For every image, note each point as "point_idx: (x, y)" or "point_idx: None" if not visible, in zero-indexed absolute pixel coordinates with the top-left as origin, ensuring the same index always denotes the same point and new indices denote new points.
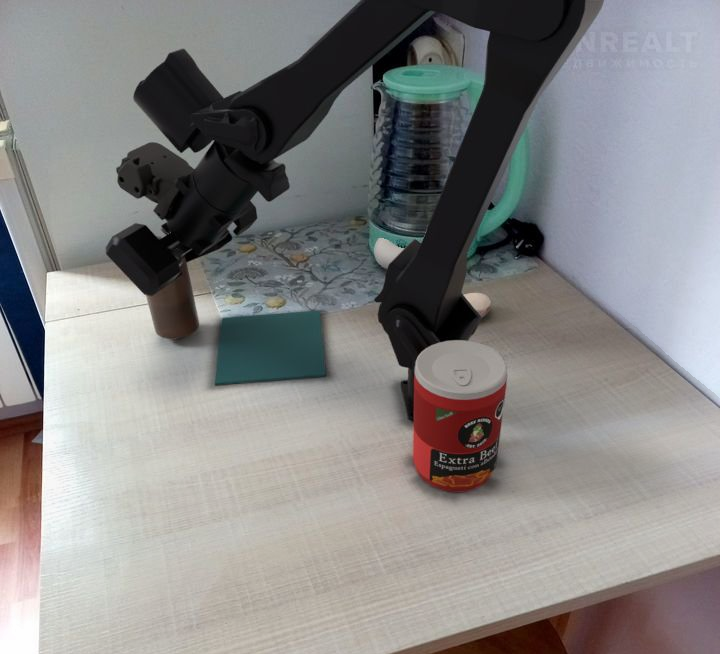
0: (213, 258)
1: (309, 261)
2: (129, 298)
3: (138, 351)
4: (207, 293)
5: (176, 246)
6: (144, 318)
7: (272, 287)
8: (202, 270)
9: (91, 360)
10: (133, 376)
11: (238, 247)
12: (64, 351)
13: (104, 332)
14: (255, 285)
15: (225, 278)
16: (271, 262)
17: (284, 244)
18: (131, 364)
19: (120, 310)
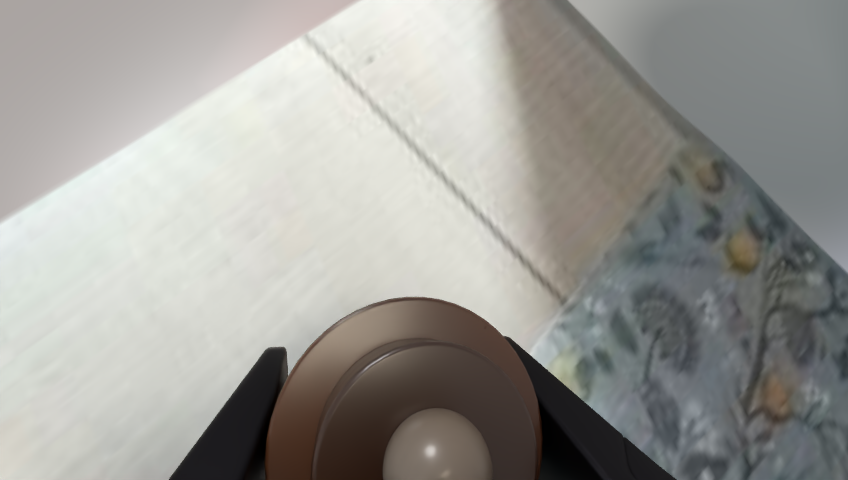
0: (676, 206)
1: (779, 430)
2: (460, 137)
3: (258, 320)
4: (559, 296)
5: (546, 429)
6: (401, 227)
7: (654, 431)
8: (628, 216)
9: (171, 232)
10: (132, 400)
11: (735, 229)
12: (187, 140)
13: (306, 177)
14: (640, 383)
15: (629, 290)
16: (730, 345)
17: (796, 318)
18: (190, 349)
19: (407, 150)
